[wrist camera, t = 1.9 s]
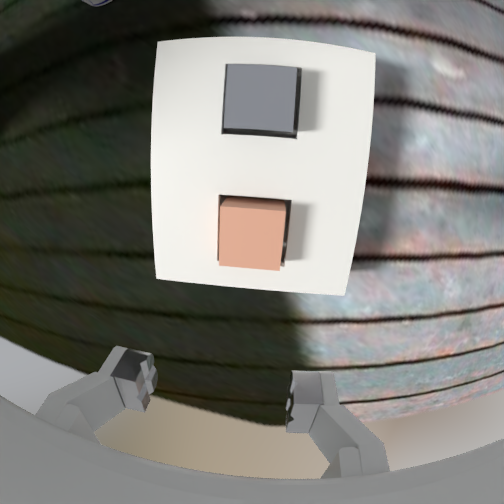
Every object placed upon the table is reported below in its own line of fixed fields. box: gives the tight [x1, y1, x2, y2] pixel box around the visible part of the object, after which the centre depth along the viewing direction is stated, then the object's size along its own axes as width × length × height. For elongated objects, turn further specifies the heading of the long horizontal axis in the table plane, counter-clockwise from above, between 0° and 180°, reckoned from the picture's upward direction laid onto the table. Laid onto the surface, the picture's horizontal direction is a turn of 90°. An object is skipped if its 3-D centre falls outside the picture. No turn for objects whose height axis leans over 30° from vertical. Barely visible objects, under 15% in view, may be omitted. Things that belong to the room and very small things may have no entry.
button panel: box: [151, 37, 376, 296], centre depth 25 cm, size 18×22×5 cm
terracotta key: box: [219, 196, 286, 271], centre depth 25 cm, size 5×5×4 cm
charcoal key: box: [224, 64, 297, 132], centre depth 21 cm, size 5×5×4 cm
